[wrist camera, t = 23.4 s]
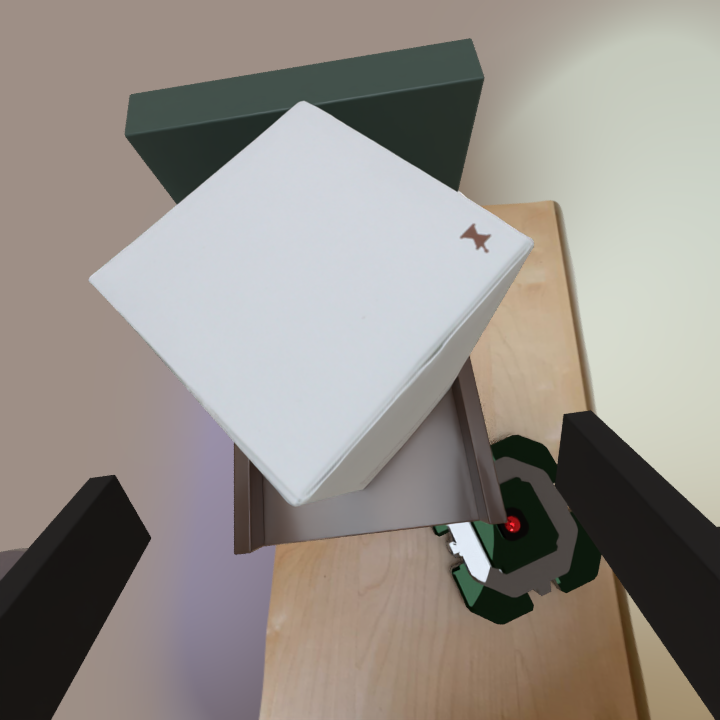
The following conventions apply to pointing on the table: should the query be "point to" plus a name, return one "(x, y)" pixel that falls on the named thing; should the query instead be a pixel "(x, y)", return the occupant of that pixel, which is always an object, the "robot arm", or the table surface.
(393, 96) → the door panel
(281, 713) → the table surface
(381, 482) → the door shelf
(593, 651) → the table surface
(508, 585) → the four-lobed dark green device
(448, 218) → the white packaging box
